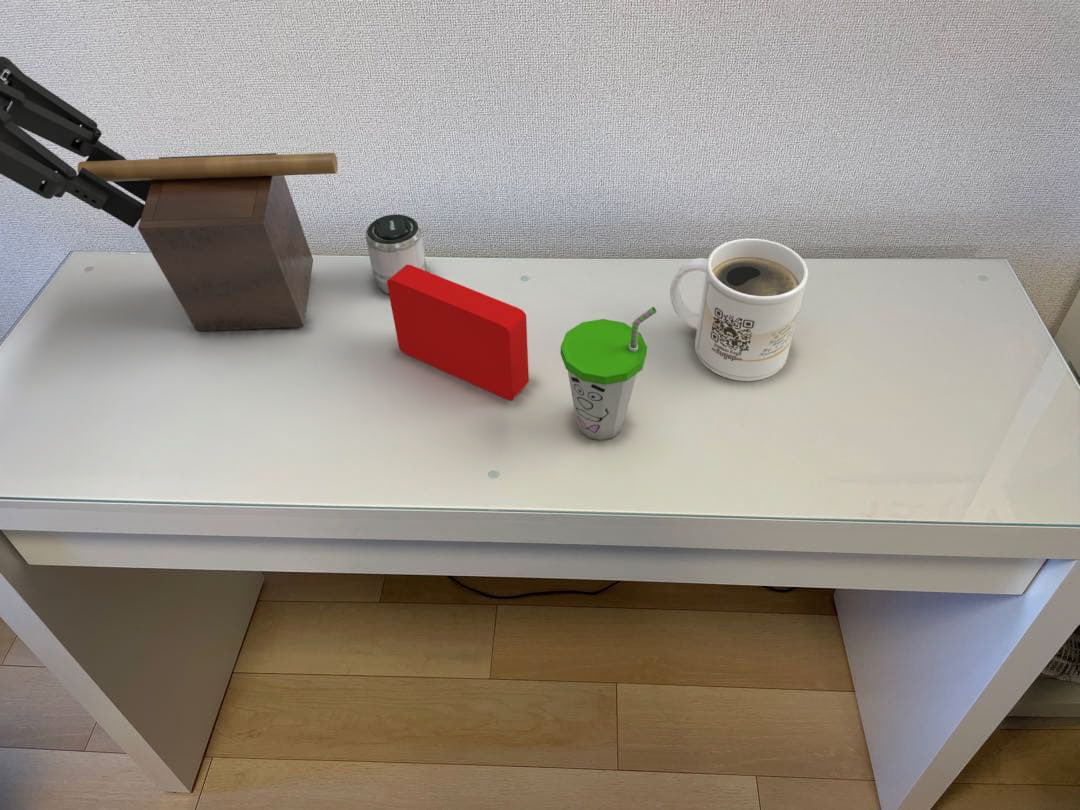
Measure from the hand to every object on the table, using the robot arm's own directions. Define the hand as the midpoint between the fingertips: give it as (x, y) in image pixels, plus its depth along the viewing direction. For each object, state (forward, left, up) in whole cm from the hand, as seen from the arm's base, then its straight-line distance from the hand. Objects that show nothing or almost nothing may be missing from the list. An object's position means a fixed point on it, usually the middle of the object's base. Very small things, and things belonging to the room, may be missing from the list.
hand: (146, 204), depth 87 cm
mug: (+54, -28, -15) cm, 63 cm away
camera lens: (+24, -3, -15) cm, 28 cm away
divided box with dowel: (+5, -7, -6) cm, 10 cm away
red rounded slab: (+26, -20, -15) cm, 36 cm away
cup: (+36, -33, -15) cm, 51 cm away
